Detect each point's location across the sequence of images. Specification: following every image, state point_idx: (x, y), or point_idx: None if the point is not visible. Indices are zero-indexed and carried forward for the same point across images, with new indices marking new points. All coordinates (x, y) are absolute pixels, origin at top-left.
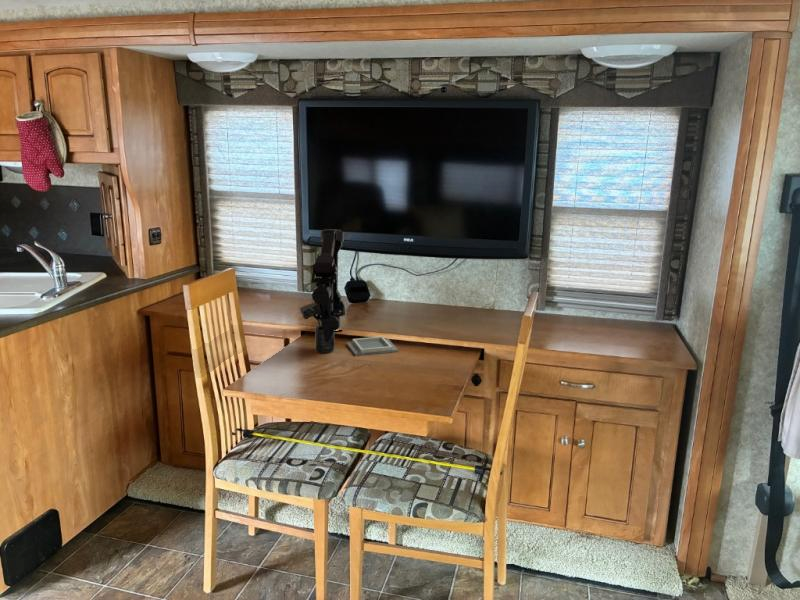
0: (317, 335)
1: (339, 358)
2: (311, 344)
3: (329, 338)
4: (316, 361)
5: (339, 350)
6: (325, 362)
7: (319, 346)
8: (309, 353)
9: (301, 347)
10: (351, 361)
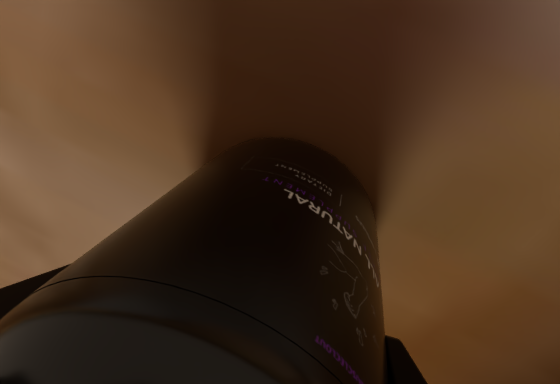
0: (136, 228)
1: (80, 227)
2: (533, 188)
3: None
4: (39, 24)
5: None
6: (12, 94)
7: (200, 169)
8: (268, 44)
9: (525, 27)
10: (20, 262)
